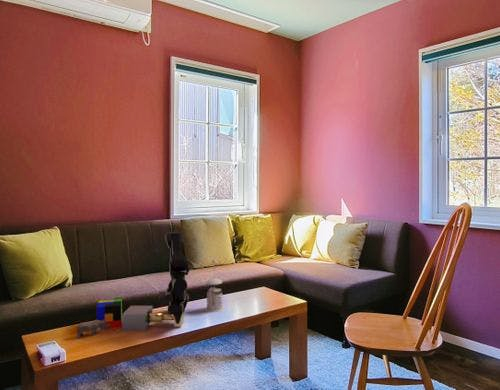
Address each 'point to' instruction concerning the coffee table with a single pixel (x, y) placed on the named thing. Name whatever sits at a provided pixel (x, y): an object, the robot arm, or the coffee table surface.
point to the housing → (136, 318)
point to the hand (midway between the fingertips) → (179, 321)
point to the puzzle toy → (110, 312)
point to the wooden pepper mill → (164, 318)
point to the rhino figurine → (91, 327)
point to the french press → (214, 295)
